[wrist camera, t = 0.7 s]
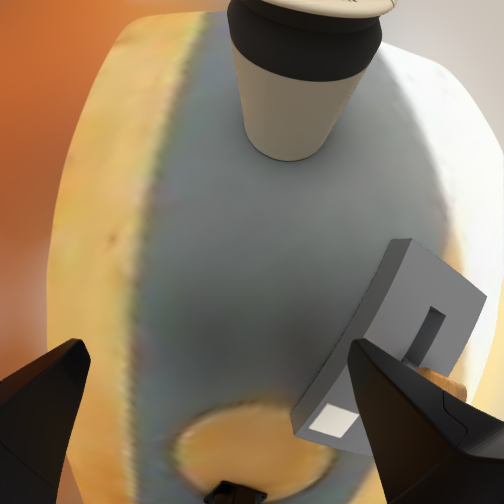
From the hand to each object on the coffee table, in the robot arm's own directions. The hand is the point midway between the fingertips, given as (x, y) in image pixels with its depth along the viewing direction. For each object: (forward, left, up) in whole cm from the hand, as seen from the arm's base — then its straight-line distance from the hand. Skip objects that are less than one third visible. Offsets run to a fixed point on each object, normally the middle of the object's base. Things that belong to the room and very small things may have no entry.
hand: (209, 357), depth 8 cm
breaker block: (0, -16, -16) cm, 23 cm away
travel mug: (+15, +4, -17) cm, 23 cm away
